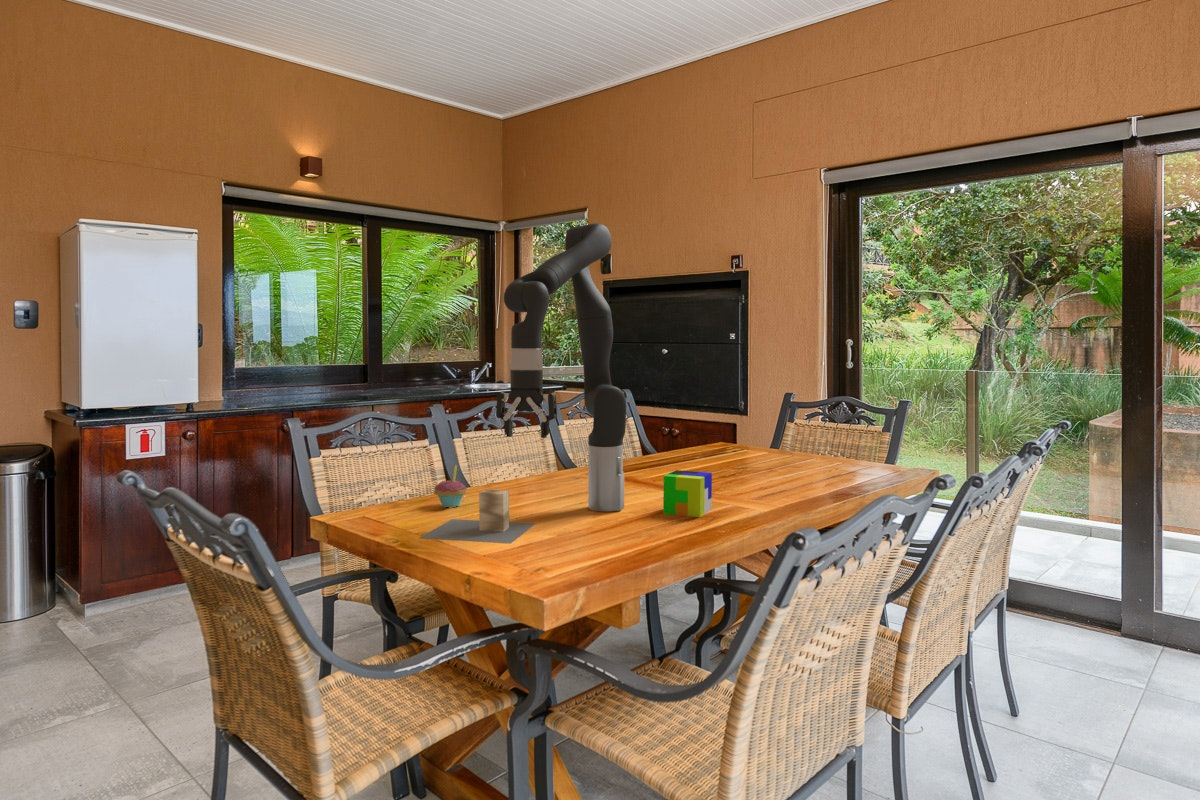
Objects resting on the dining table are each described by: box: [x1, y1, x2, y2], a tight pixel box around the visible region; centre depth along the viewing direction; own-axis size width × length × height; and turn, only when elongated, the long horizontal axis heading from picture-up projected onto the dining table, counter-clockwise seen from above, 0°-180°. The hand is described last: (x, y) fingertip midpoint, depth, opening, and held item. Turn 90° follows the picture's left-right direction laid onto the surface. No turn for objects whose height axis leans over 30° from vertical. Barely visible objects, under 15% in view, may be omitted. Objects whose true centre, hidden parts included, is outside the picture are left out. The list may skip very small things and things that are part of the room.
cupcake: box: [433, 462, 468, 508], centre depth 209 cm, size 9×8×12 cm
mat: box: [418, 518, 537, 544], centre depth 181 cm, size 22×19×1 cm
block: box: [478, 489, 510, 532], centre depth 182 cm, size 6×4×9 cm
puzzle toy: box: [662, 469, 713, 518], centre depth 202 cm, size 10×10×10 cm
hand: (526, 437), depth 180 cm, fingers open, 8 cm apart
